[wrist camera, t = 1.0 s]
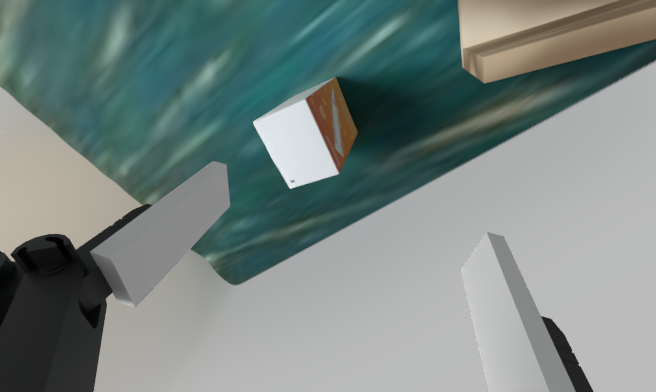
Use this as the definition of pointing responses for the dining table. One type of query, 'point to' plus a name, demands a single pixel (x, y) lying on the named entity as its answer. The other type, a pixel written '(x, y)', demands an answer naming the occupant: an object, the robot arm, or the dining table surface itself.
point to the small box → (309, 134)
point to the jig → (546, 32)
